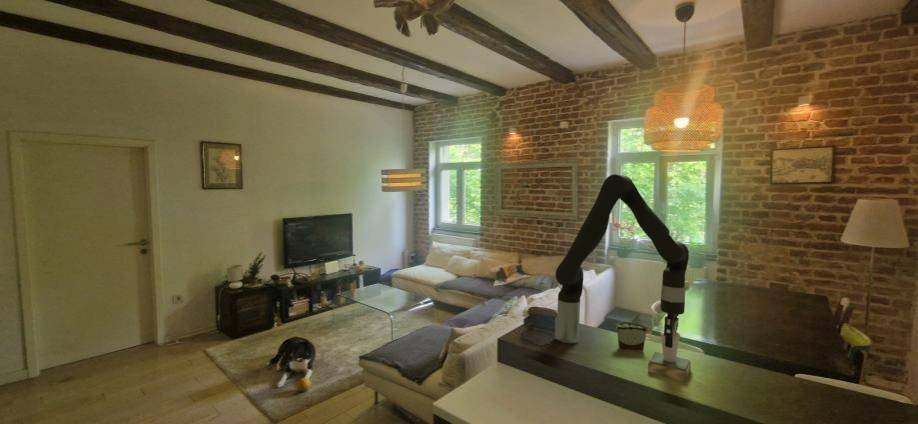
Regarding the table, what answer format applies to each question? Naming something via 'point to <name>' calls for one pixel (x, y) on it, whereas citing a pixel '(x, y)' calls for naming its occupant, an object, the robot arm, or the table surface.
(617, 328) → the food container
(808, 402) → the table surface
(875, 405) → the table surface
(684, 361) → the oak plinth
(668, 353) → the smoothie
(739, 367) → the table surface
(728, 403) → the table surface
